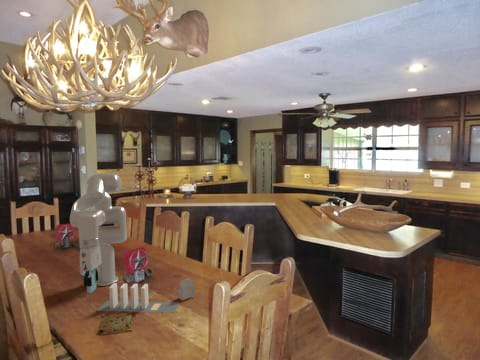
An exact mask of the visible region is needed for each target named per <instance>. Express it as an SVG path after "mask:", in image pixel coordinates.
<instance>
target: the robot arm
mask: <svg viewBox="0 0 480 360" xmlns="http://www.w3.org/2000/svg"><path fill="white" fill-rule="evenodd" d="M86 184H87V186H86V193H84V194H83V195H82V196H80V197H79V198H78V199H77V200H75V201H74V202H73V204H72V207H71V210H70V214H69V223H70V225H71V226H72V227H74V228H78V239H79V240H78V241H79V248H80V250H79V267H80V271H79V275H81V276H82V278H83V286H84V287H87V286H92V277H90V276H91V271H92V270H94V269H95V268H96V286H99V287H105V286H111V285H112V284H114V283H117V282H118V281H119V276H117V275H116V263H115V262H116V261H115V249H114V247H113V246H112V245H111V244H118V243H124V242H126V241H127V238H128V229H127V227H128V225H127V211H126V209H125V207H123V206H118V205H117V206H113V205H112V197H111V195H110V194H109V193H113V192H114V193H118V192H120V191H122V188H123V180H122V178H121V177H120V175H118V174H116V173H95V174H93V175H91V176H90V177H89V178H88V179H87V182H86ZM93 207H94V209H89V208H93ZM110 224H111V225H110ZM112 224H117V225H112ZM102 225H103V226H102ZM105 225H107V226H105ZM87 269H88V270H87ZM86 271H87V272H88V273H86Z"/></svg>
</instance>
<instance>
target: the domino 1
mask: <svg viewBox="0 0 480 360" xmlns="http://www.w3.org/2000/svg"><path fill="white" fill-rule="evenodd" d="M86 270H88V269H86ZM86 273H88V272H87V271H86ZM90 277H92V286H86V294H92V293H93V292H94V291H95V290H96V289H97V285H96V268H95V269H94V270H92V271H91V276H90Z"/></svg>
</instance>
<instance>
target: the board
mask: <svg viewBox="0 0 480 360" xmlns="http://www.w3.org/2000/svg"><path fill="white" fill-rule="evenodd" d="M179 304H180V302H168V301H149V305H148V306H147V307H146V309H142V302H141V301H138V305H137V307H136V308H135V309H131V300H128V305H127V306H126V307H125V308H124V309H121V307H120V300H118V304H117V305H116V306H115V307H114V308H110V300H106V301H105V302H104V303H103V304H102V305H101V306H100V307H99V308H98V309H96V312H122V313H123V312H126V313H165V314H166V313H167V314H172V313H173V314H175V312H176V310H177V308H178V307H179Z"/></svg>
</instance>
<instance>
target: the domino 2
mask: <svg viewBox="0 0 480 360" xmlns="http://www.w3.org/2000/svg"><path fill="white" fill-rule="evenodd" d="M108 290H109V291H108V292H109V295H108V296H109V301H110V308H114V307H115V306H116V305H117V304H118V301H119V295H118V292H119V291H118V283H117V282H116V283H114V284H111V285H109V287H108Z"/></svg>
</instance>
